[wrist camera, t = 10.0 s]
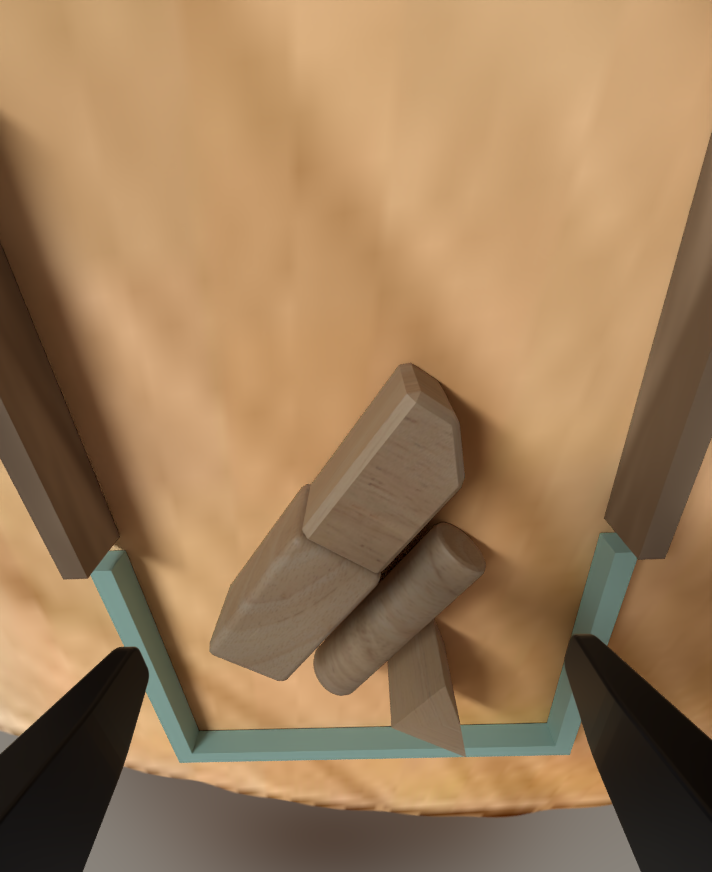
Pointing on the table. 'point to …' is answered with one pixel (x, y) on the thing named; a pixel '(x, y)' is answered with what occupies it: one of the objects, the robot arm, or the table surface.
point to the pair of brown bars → (633, 487)
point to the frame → (360, 742)
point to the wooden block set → (366, 565)
